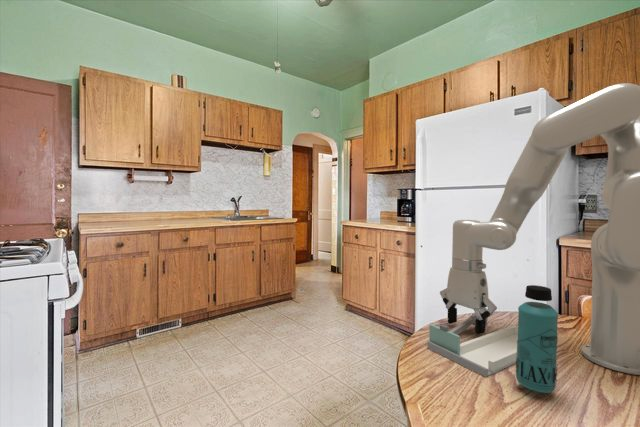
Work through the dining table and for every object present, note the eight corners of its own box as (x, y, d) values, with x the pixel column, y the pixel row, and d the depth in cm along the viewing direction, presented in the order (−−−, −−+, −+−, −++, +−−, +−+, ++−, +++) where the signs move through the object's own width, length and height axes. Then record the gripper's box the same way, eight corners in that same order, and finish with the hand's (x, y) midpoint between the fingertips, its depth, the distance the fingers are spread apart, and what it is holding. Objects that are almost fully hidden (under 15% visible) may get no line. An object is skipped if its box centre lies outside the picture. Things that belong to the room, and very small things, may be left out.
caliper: (483, 324, 93) (484, 303, 93) (487, 325, 92) (487, 304, 92) (441, 341, 82) (441, 317, 82) (444, 342, 81) (445, 318, 81)
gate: (460, 357, 72) (460, 331, 72) (457, 358, 71) (457, 332, 71) (432, 343, 79) (432, 320, 79) (428, 344, 78) (429, 320, 78)
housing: (549, 347, 78) (550, 337, 78) (485, 377, 64) (486, 365, 64) (490, 327, 91) (490, 318, 91) (427, 348, 77) (427, 338, 77)
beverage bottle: (507, 385, 61) (509, 284, 61) (529, 378, 64) (531, 281, 63) (542, 405, 55) (545, 293, 55) (565, 396, 58) (568, 289, 57)
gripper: (506, 269, 81) (504, 336, 82) (448, 258, 96) (447, 315, 97) (489, 272, 77) (487, 342, 78) (431, 260, 92) (430, 320, 93)
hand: (465, 327), depth 87 cm, fingers open, 7 cm apart
